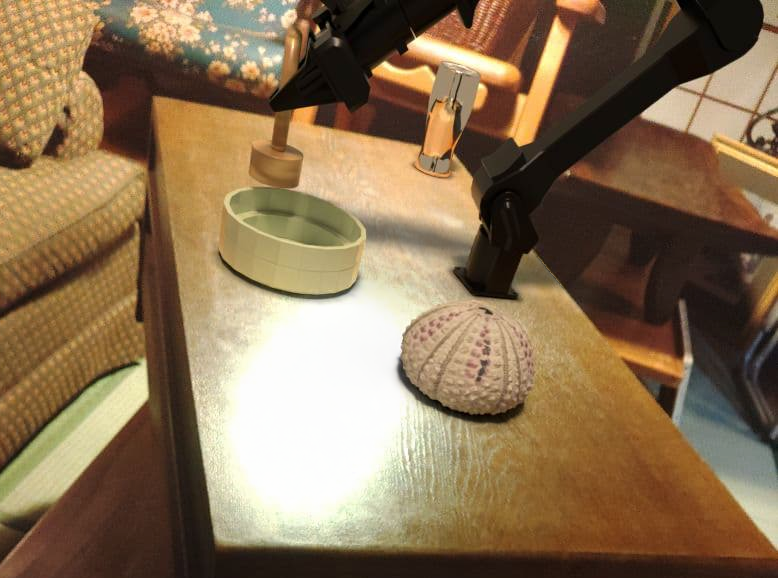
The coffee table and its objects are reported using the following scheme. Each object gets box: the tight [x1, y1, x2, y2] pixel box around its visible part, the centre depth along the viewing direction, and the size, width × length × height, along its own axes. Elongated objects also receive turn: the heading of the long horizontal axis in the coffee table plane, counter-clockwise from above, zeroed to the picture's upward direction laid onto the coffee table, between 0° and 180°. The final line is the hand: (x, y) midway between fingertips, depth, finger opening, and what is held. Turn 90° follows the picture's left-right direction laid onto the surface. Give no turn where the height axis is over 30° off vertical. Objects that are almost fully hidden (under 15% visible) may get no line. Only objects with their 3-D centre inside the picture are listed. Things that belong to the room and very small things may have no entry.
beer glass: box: [414, 60, 482, 178], centre depth 118 cm, size 7×7×15 cm
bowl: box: [217, 186, 367, 295], centre depth 80 cm, size 15×15×6 cm
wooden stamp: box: [248, 26, 305, 190], centre depth 77 cm, size 6×6×14 cm
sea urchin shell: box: [399, 299, 538, 416], centre depth 69 cm, size 13×14×8 cm
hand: (271, 105), depth 77 cm, fingers closed on wooden stamp
